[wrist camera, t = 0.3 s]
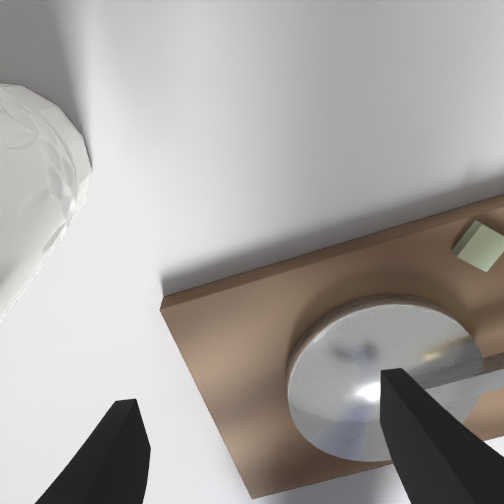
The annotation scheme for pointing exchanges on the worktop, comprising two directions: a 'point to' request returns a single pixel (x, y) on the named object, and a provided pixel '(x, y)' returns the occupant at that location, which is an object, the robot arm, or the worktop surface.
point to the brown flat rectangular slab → (316, 306)
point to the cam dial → (369, 370)
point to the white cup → (35, 185)
